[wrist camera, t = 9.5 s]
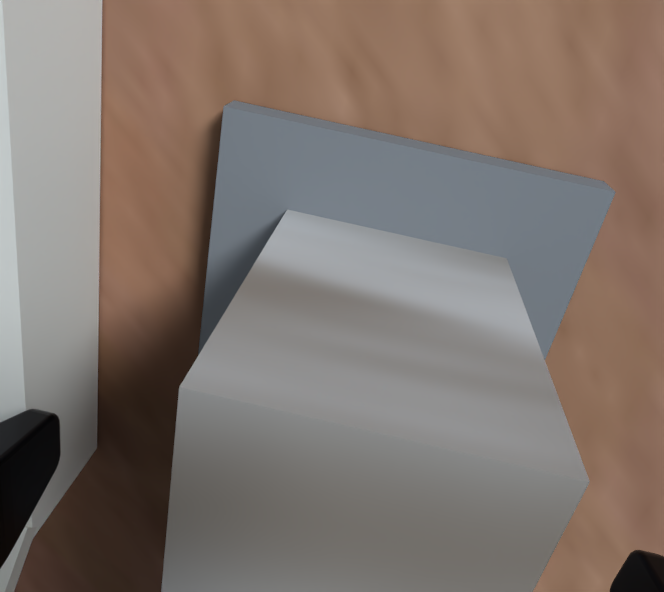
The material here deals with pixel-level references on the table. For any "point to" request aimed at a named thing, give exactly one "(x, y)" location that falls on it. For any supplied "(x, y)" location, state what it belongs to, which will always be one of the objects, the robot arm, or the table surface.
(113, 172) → the table surface
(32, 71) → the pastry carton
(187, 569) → the walnut box
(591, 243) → the slate mat
